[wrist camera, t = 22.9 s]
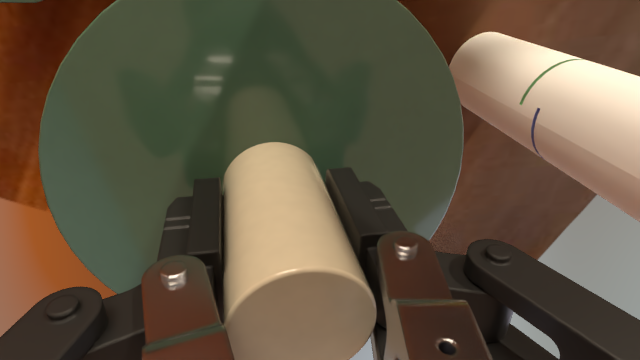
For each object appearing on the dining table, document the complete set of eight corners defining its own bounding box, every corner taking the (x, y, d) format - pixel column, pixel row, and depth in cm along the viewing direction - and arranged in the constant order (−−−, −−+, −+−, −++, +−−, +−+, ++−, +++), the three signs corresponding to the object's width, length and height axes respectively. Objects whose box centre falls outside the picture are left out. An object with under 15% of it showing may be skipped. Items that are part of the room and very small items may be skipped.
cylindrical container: (441, 109, 41) (684, 287, 20) (453, 32, 38) (763, 147, 16) (507, 105, 42) (802, 268, 21) (525, 30, 39) (899, 134, 17)
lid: (-18, -54, 10) (-375, -51, 4) (481, -45, 13) (725, -35, 7) (107, 331, 17) (41, 556, 11) (422, 288, 19) (516, 449, 13)
